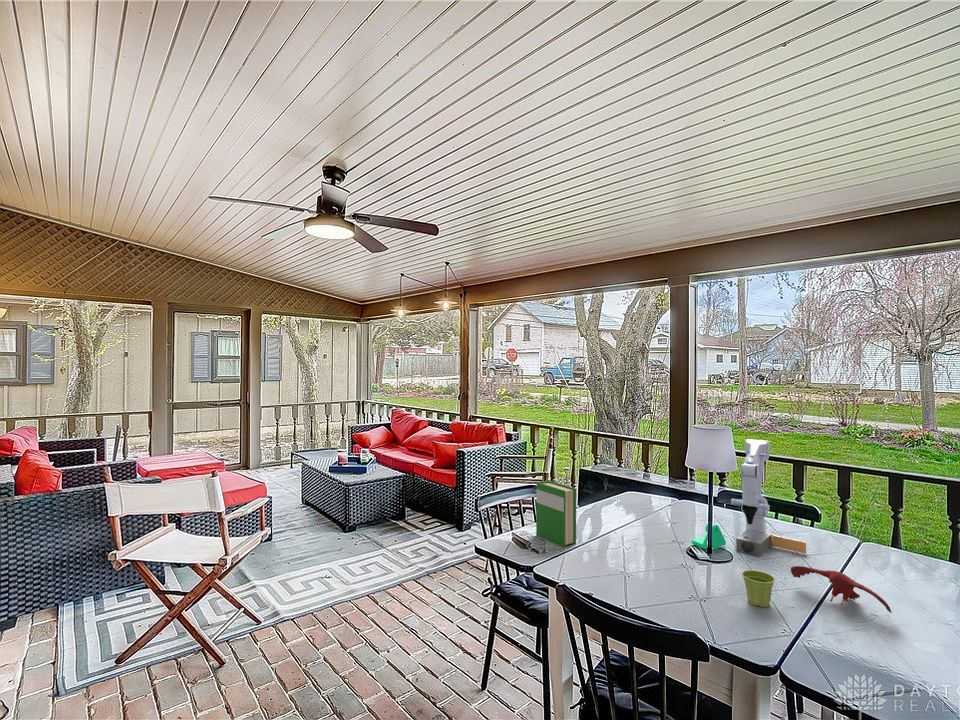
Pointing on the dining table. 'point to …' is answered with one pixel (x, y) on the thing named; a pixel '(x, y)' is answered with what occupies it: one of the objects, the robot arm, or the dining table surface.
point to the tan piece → (788, 544)
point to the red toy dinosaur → (838, 583)
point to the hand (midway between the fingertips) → (750, 523)
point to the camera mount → (716, 538)
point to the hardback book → (556, 513)
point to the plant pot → (758, 587)
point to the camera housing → (753, 542)
